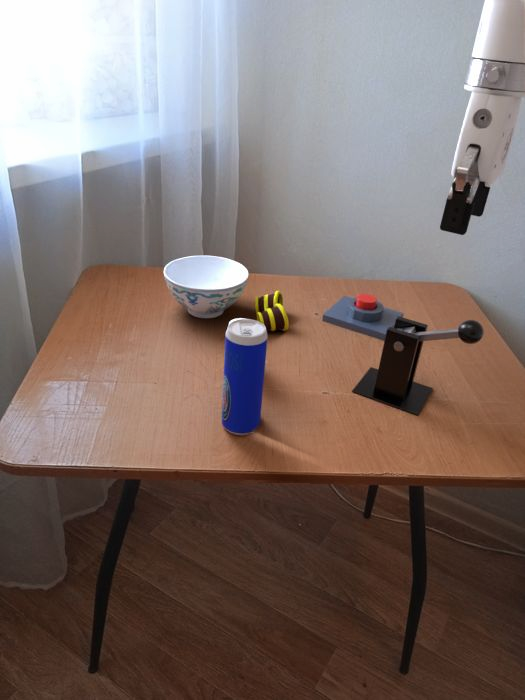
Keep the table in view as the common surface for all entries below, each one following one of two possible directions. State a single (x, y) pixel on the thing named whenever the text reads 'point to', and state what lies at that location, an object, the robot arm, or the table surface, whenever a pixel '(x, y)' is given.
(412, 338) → the switch bracket
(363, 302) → the button
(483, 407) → the table surface
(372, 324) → the switch box
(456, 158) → the robot arm
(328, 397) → the table surface
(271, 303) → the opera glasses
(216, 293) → the chinaware
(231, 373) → the beverage can
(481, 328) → the switch lever
